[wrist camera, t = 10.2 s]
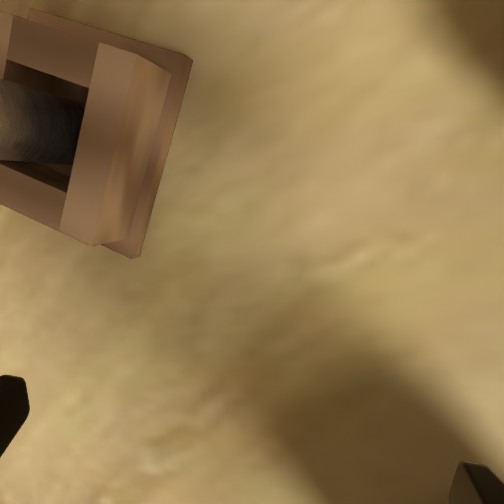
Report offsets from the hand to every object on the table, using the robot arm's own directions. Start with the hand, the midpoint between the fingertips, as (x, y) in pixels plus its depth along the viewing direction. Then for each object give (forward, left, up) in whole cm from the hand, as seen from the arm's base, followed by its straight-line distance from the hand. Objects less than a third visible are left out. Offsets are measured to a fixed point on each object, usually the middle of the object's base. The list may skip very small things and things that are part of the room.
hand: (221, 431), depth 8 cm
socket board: (+3, +15, -13) cm, 20 cm away
